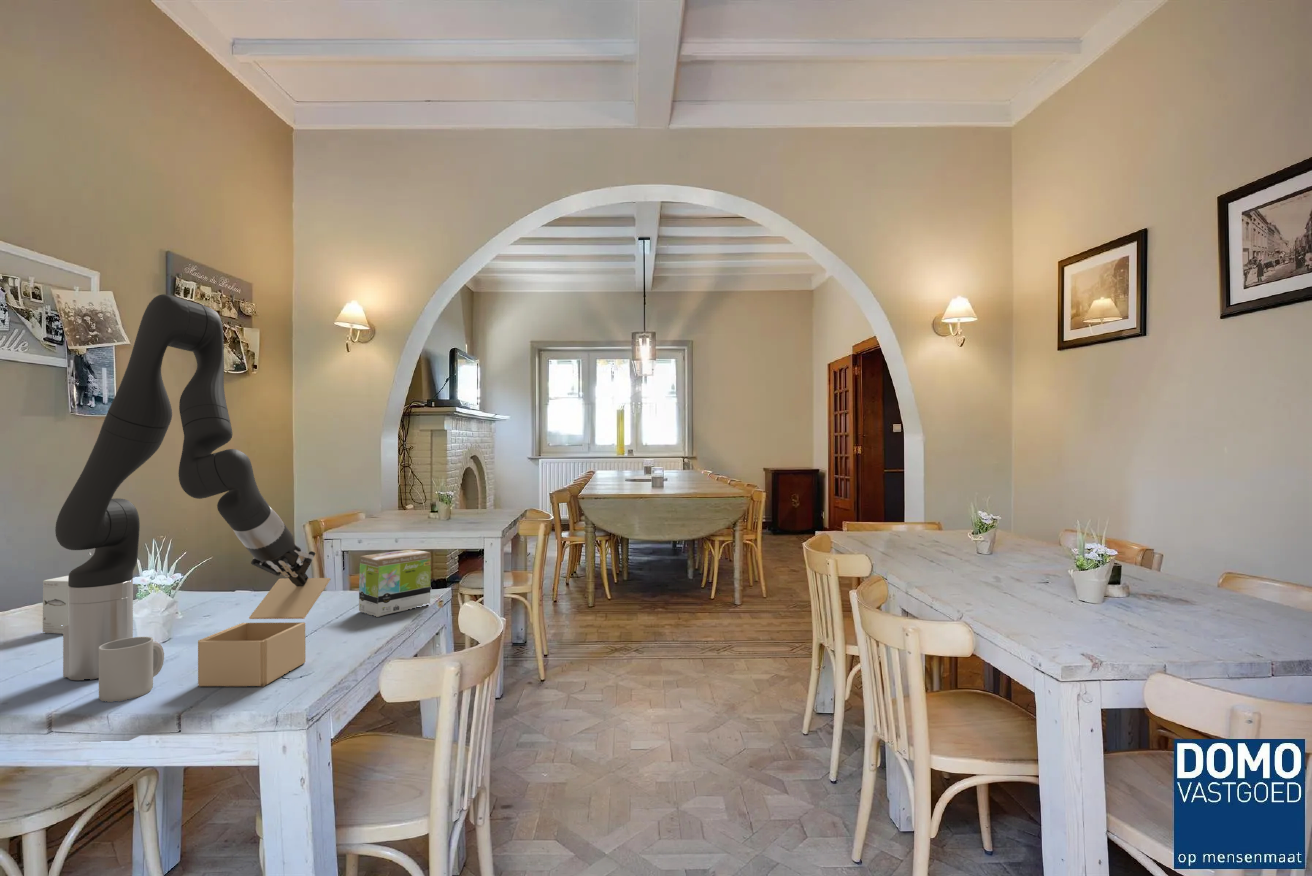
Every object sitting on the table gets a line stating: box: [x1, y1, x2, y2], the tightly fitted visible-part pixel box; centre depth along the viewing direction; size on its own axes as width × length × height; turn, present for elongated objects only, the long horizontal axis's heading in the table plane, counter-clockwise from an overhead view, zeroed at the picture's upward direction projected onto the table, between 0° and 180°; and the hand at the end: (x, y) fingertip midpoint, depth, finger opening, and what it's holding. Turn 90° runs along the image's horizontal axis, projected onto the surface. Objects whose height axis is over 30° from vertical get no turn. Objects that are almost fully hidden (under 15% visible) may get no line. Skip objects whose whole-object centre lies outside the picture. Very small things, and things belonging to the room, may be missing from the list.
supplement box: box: [42, 575, 69, 634], centre depth 147 cm, size 7×7×13 cm
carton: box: [197, 621, 306, 688], centre depth 115 cm, size 13×12×8 cm
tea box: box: [358, 548, 432, 618], centre depth 162 cm, size 15×10×15 cm
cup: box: [98, 636, 165, 703], centre depth 108 cm, size 7×10×9 cm
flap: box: [248, 577, 332, 620], centre depth 126 cm, size 11×1×11 cm
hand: (302, 582), depth 130 cm, fingers closed
